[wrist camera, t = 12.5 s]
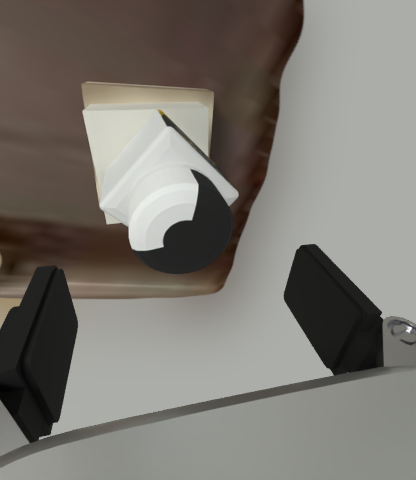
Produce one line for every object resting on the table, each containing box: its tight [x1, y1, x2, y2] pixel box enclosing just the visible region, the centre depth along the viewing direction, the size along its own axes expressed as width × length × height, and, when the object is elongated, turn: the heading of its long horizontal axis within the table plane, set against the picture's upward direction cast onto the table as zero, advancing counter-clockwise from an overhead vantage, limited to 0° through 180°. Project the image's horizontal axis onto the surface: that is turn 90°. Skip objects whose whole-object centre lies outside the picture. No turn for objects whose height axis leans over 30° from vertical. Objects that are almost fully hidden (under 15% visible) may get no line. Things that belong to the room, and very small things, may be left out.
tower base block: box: [81, 82, 214, 209], centre depth 30 cm, size 12×12×4 cm
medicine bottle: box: [99, 110, 239, 274], centre depth 20 cm, size 7×7×12 cm
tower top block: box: [82, 102, 209, 224], centre depth 27 cm, size 10×10×4 cm
